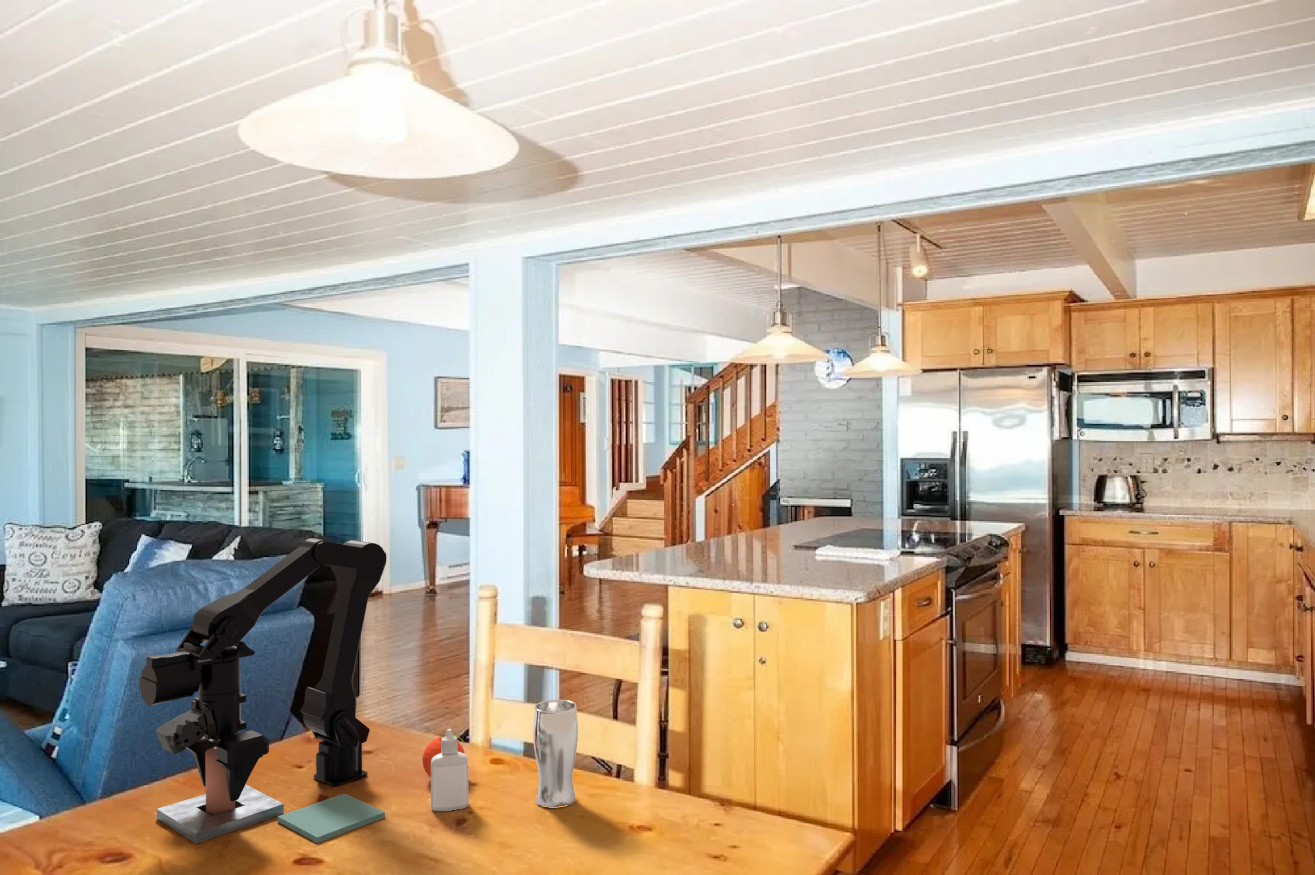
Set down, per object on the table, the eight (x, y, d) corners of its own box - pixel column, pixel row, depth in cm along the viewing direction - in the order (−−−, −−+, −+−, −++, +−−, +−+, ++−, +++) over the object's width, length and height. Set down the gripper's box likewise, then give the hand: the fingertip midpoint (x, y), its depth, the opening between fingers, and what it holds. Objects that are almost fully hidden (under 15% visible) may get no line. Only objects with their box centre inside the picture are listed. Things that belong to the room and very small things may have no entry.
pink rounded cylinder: (227, 808, 141) (227, 744, 141) (240, 815, 138) (239, 749, 138) (201, 817, 138) (200, 751, 138) (213, 824, 135) (212, 757, 135)
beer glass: (525, 806, 142) (524, 709, 141) (547, 789, 148) (546, 697, 148) (565, 813, 139) (564, 714, 139) (585, 796, 145) (585, 701, 145)
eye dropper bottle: (459, 815, 138) (459, 736, 138) (426, 811, 140) (425, 732, 140) (472, 803, 143) (472, 726, 142) (440, 799, 144) (439, 723, 144)
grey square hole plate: (242, 792, 147) (242, 782, 147) (283, 813, 139) (283, 804, 139) (156, 819, 137) (156, 809, 137) (195, 844, 129) (195, 833, 129)
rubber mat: (344, 798, 145) (344, 793, 145) (384, 817, 138) (384, 812, 138) (277, 821, 136) (277, 816, 136) (317, 843, 129) (317, 837, 129)
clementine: (450, 766, 158) (450, 725, 158) (478, 775, 154) (478, 733, 154) (413, 781, 152) (413, 738, 152) (441, 790, 148) (441, 746, 148)
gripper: (136, 690, 138) (137, 794, 138) (192, 715, 126) (193, 828, 126) (212, 675, 146) (212, 772, 146) (270, 696, 134) (271, 802, 135)
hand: (220, 793), depth 138 cm, fingers open, 8 cm apart
